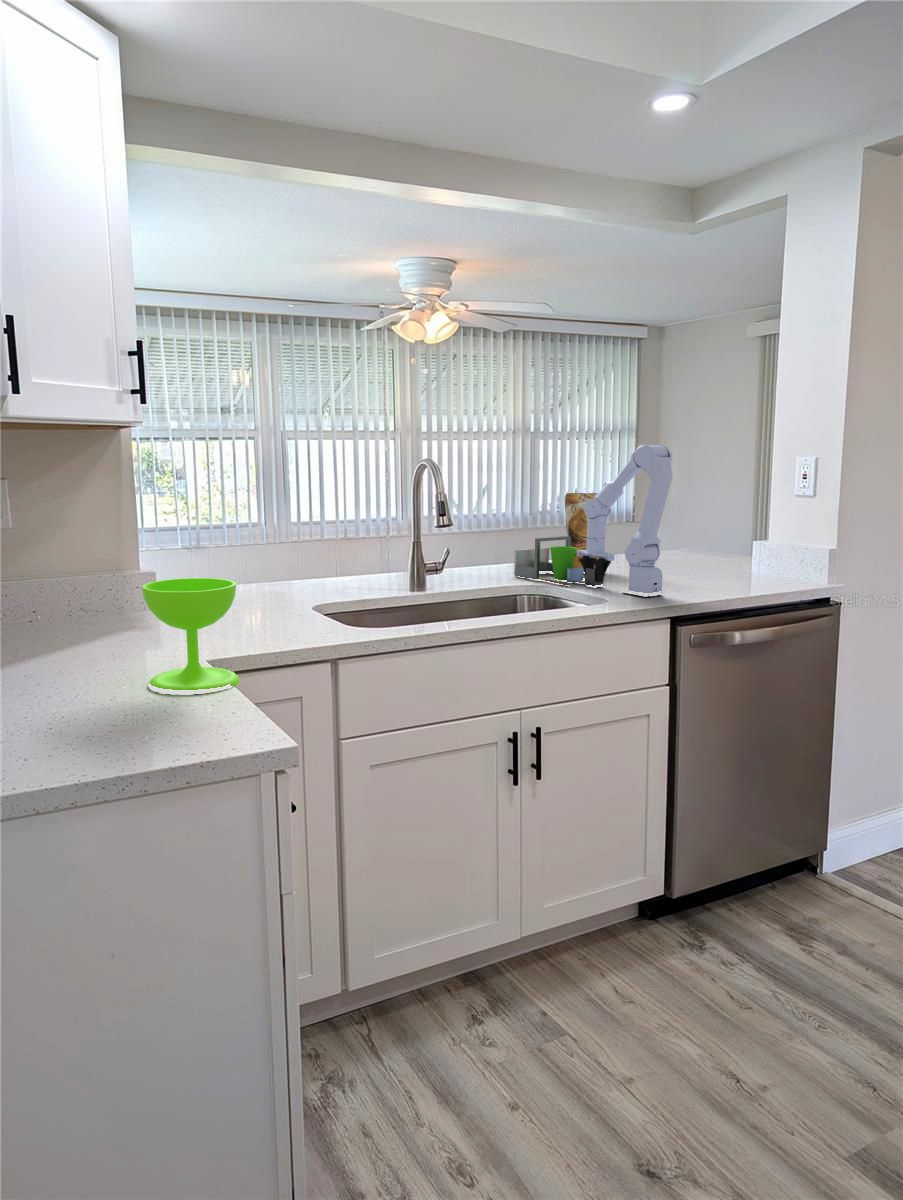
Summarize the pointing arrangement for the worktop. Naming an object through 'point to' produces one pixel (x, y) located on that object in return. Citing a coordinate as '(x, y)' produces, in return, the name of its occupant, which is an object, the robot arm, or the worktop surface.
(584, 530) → the pancake mix bag
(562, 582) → the lane rails
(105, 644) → the worktop surface
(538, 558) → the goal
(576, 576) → the blue and gray block
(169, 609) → the wineglass
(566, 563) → the cup
